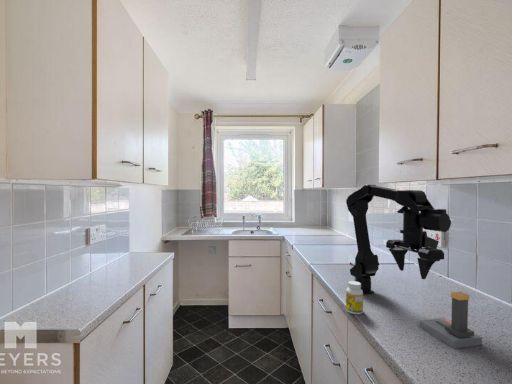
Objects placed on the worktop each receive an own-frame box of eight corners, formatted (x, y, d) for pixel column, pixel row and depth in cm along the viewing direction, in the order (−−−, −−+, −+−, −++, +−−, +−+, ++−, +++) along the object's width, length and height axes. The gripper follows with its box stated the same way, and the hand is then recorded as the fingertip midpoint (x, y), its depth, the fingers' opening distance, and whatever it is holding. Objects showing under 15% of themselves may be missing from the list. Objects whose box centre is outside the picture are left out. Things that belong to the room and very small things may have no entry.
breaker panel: (419, 326, 79) (419, 320, 79) (444, 324, 81) (444, 317, 81) (454, 348, 69) (454, 340, 69) (481, 344, 71) (481, 336, 71)
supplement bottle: (366, 314, 87) (366, 285, 87) (351, 315, 86) (351, 286, 86) (356, 307, 92) (357, 279, 92) (342, 308, 91) (343, 280, 91)
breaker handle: (445, 329, 73) (445, 291, 73) (459, 327, 74) (460, 290, 74) (458, 337, 70) (459, 297, 69) (474, 335, 71) (474, 295, 71)
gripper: (459, 231, 81) (458, 282, 81) (411, 224, 99) (410, 265, 99) (428, 232, 78) (428, 284, 78) (385, 224, 97) (384, 267, 97)
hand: (412, 274), depth 88 cm, fingers open, 9 cm apart
